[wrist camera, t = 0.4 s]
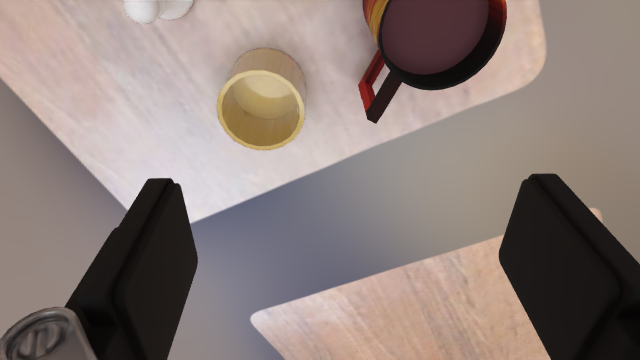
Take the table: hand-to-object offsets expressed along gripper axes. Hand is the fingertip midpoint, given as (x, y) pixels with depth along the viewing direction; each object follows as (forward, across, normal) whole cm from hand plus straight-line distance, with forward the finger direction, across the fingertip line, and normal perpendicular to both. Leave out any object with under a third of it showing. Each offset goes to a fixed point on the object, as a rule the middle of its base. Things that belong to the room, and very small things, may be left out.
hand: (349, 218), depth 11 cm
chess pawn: (+35, +15, -1) cm, 38 cm away
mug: (+35, -9, +2) cm, 36 cm away
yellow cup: (+35, +6, +9) cm, 37 cm away
